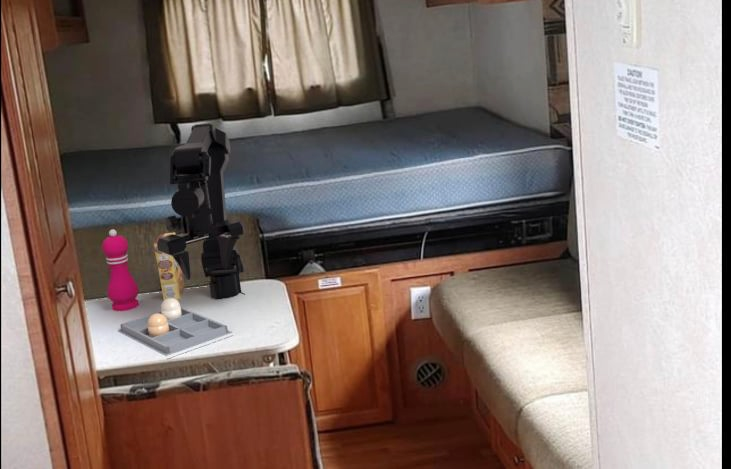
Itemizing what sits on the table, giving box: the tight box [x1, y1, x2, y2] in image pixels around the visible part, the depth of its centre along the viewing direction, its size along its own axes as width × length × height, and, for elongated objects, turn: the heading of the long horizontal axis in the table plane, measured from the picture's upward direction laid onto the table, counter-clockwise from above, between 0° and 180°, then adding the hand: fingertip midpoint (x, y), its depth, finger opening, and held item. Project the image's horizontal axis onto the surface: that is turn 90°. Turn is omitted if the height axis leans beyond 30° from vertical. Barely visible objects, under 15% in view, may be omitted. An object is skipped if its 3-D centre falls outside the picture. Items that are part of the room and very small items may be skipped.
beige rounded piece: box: [147, 312, 169, 338], centre depth 206 cm, size 4×4×5 cm
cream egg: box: [160, 298, 182, 320], centre depth 216 cm, size 4×4×5 cm
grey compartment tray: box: [117, 306, 234, 360], centre depth 209 cm, size 16×23×2 cm
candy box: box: [153, 232, 185, 301], centre depth 233 cm, size 9×4×15 cm, turn 2°
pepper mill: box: [101, 228, 140, 312], centre depth 227 cm, size 7×7×20 cm
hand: (206, 273), depth 210 cm, fingers open, 9 cm apart
